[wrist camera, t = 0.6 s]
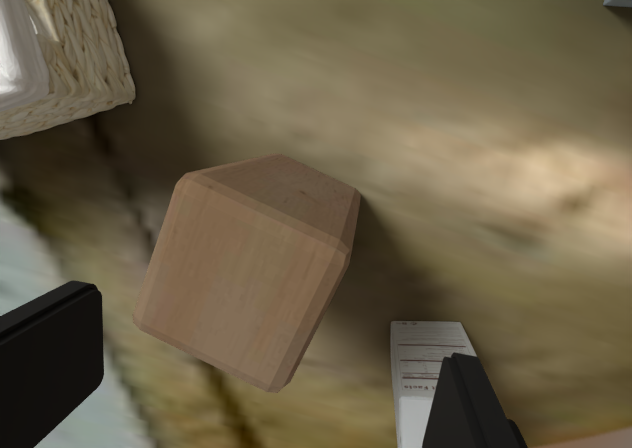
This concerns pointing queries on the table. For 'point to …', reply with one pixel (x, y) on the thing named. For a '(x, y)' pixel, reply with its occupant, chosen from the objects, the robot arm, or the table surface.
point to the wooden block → (249, 265)
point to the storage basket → (59, 63)
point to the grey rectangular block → (618, 3)
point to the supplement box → (420, 371)
